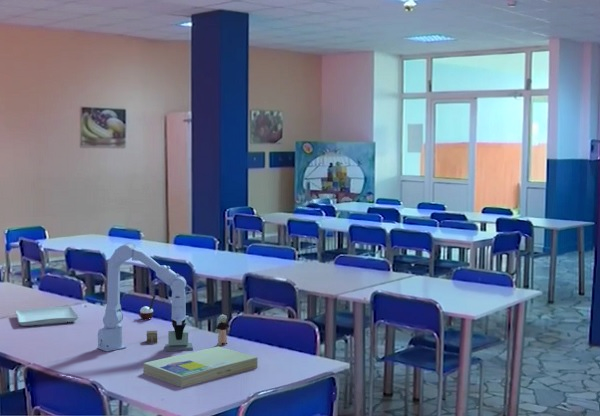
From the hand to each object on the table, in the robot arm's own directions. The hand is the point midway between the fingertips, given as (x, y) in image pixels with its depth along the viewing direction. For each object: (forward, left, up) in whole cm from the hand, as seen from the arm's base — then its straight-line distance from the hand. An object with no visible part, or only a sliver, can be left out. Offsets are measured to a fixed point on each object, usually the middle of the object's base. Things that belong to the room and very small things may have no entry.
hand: (178, 338), depth 310 cm
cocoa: (+19, +56, -4) cm, 60 cm away
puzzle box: (-12, -33, -5) cm, 35 cm away
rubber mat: (0, 0, -4) cm, 4 cm away
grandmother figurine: (+18, -7, -4) cm, 20 cm away
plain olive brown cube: (-3, +17, -4) cm, 17 cm away
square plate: (-18, +87, -5) cm, 89 cm away
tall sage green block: (0, 0, -2) cm, 2 cm away
